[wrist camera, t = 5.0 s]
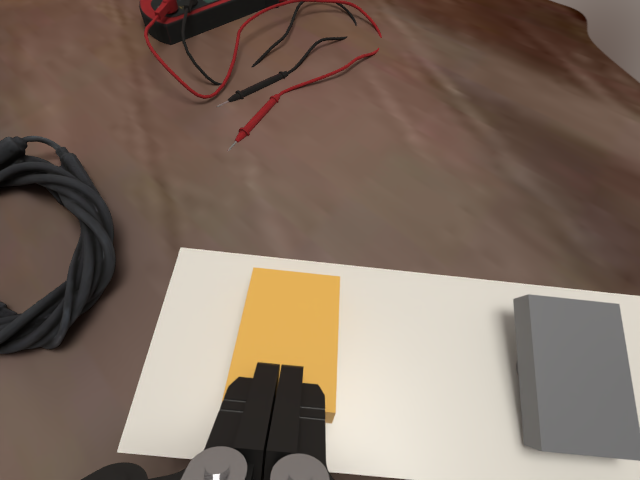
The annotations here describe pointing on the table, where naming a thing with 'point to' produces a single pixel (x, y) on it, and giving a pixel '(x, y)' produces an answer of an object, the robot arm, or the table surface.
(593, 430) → the flat grey slab box
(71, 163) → the cable
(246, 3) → the digital clamp meter
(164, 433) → the switch box
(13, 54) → the table surface
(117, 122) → the table surface
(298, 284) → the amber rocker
